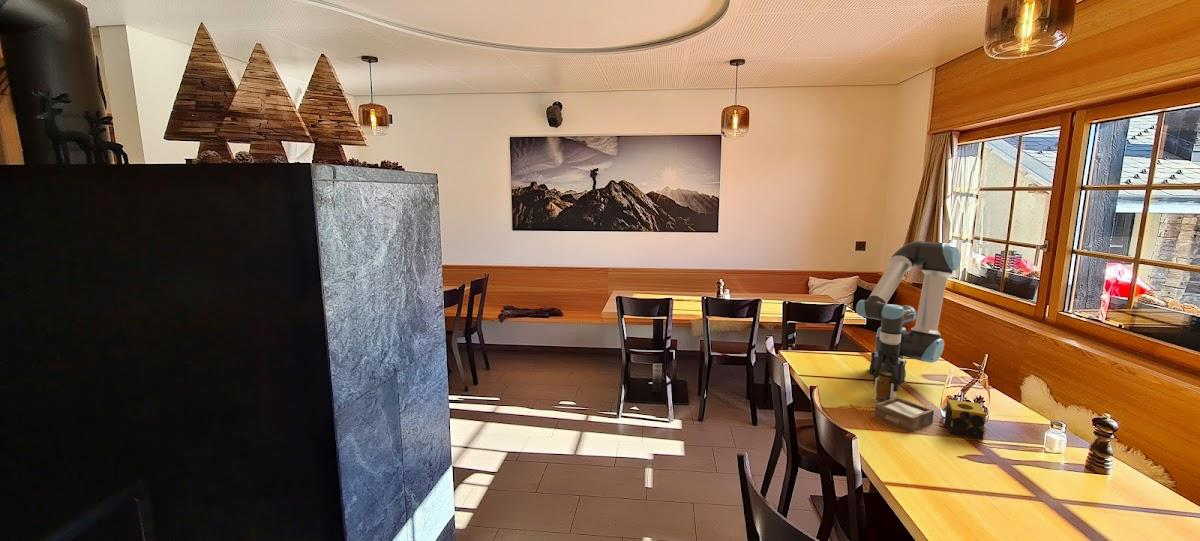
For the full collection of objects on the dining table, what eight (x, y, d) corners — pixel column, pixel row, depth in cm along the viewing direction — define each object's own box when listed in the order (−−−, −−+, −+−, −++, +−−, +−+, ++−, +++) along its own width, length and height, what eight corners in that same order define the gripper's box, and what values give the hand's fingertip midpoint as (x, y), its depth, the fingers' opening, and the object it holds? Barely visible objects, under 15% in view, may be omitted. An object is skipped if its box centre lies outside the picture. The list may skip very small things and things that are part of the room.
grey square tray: (895, 408, 198) (896, 396, 197) (932, 423, 186) (933, 410, 185) (873, 416, 191) (875, 404, 191) (910, 431, 179) (912, 418, 178)
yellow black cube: (976, 428, 182) (979, 403, 180) (984, 440, 173) (987, 414, 171) (943, 423, 186) (946, 398, 185) (949, 434, 177) (952, 409, 176)
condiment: (879, 395, 211) (881, 369, 209) (900, 402, 204) (903, 374, 202) (871, 400, 206) (874, 373, 204) (893, 407, 200) (896, 379, 198)
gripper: (862, 337, 208) (857, 388, 212) (908, 350, 192) (902, 405, 196) (873, 334, 212) (868, 385, 216) (919, 347, 195) (913, 401, 199)
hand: (884, 394), depth 206 cm, fingers closed on condiment, 6 cm apart
